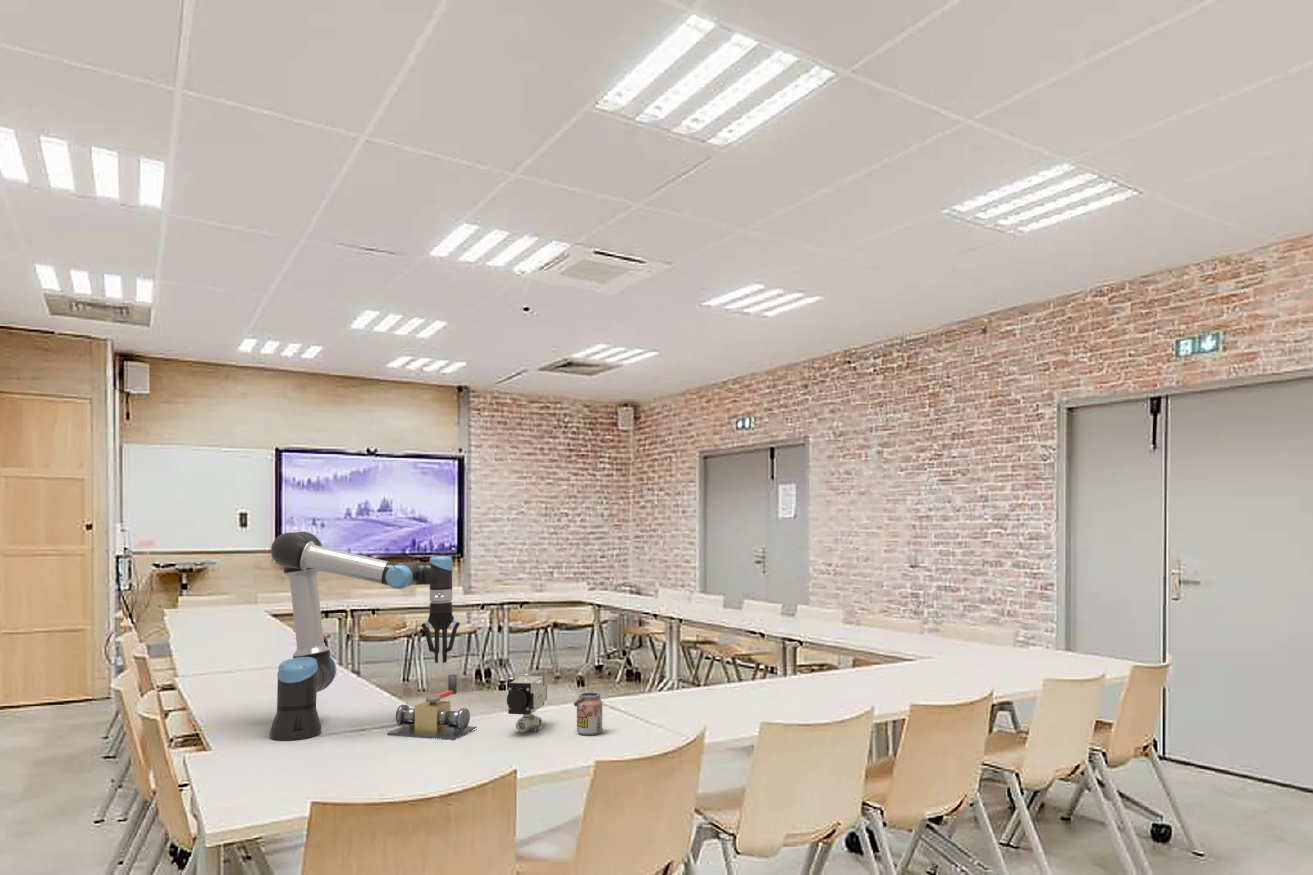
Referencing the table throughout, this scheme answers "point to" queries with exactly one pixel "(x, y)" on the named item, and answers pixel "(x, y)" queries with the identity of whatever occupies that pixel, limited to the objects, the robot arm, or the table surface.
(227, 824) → the table surface
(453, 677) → the lever
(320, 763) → the table surface
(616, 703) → the table surface
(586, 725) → the beverage can
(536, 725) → the ball valve
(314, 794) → the table surface
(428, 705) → the valve assembly
